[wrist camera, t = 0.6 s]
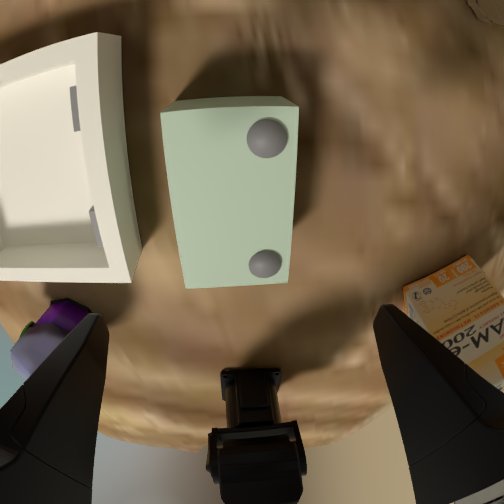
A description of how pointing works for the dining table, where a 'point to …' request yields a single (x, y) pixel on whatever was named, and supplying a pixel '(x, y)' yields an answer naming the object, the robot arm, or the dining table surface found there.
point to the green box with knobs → (232, 187)
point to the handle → (488, 10)
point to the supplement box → (462, 315)
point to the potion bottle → (46, 335)
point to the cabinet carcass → (66, 166)
